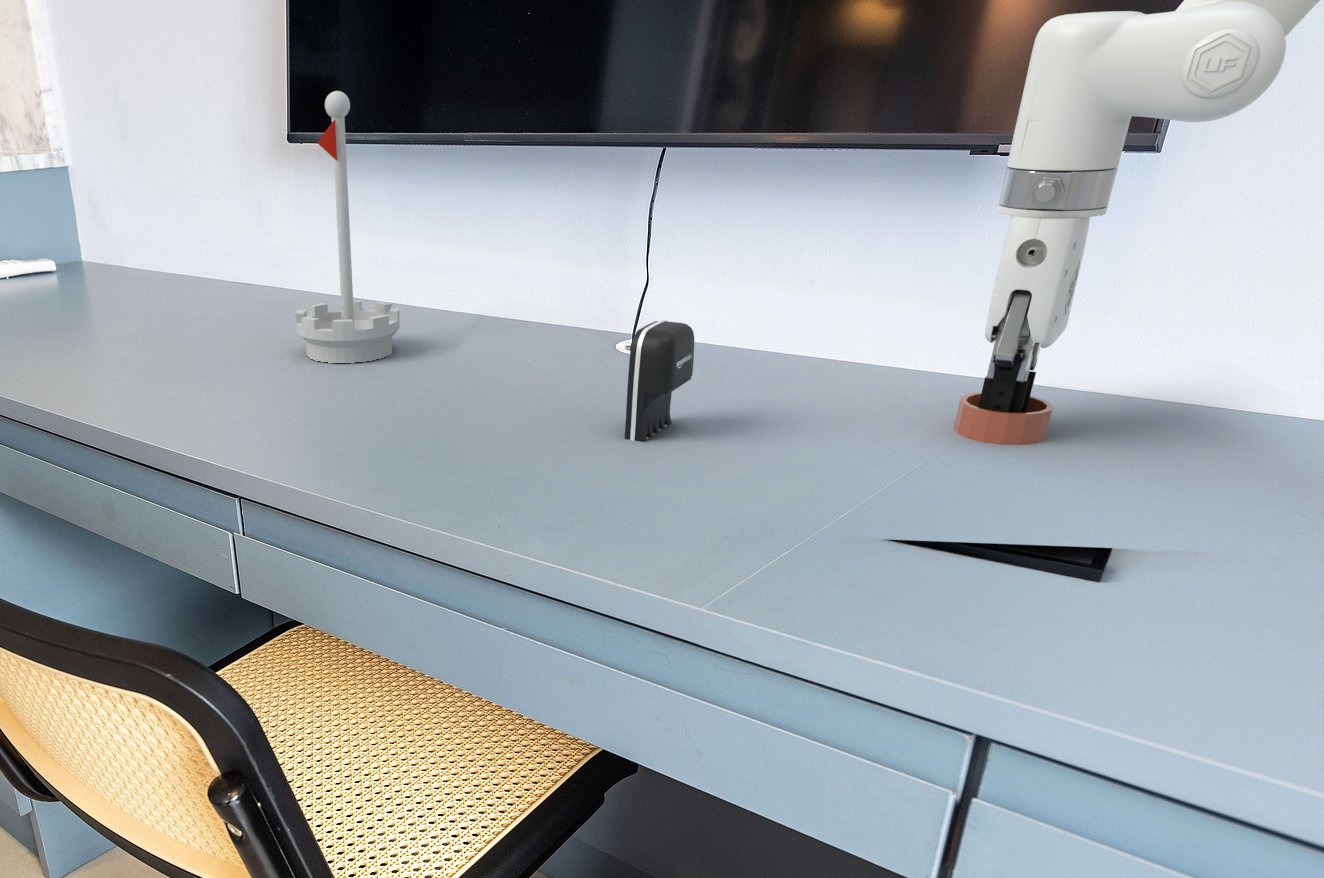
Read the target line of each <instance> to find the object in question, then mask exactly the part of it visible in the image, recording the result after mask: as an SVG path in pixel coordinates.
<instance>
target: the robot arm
mask: <svg viewBox="0 0 1324 878" xmlns="http://www.w3.org/2000/svg"><path fill="white" fill-rule="evenodd" d="M1320 1H1321V0H1183V1H1182V2H1181V3H1180V4H1179V6H1178V7H1177V8H1176V9H1175V10H1173V11H1166V12H1157V13H1156V12H1155V13H1148V14H1146V13H1145V12H1144V13H1143V12H1142V11H1135V10H1134V11H1133V10H1121V11H1119V10H1118V11H1117V10H1114V11H1113V10H1112V11H1089V12H1080V13H1078V12H1077V13H1067V14H1066V13H1065V14H1062V15H1057V16H1055V17H1052V18H1050V19H1049V20H1047V21H1046V22H1045V23H1044V24H1043V25H1042V26H1041V27H1040V28H1039V31H1038V32H1037V34H1036V36H1035V39H1034V43H1033V46H1032V50H1031V54H1030V59H1029V62H1028V63H1029V64H1028V68H1027V72H1026V77H1025V82H1024V87H1023V92H1022V96H1021V100H1020V104H1019V109H1018V114H1017V118H1016V123H1015V128H1014V132H1013V136H1012V141H1011V145H1010V150H1009V154H1008V159H1007V163H1006V169H1005V173H1004V177H1003V181H1002V186H1001V189H1000V195H999V200H998V204H997V209H996V212H997V213H999V214H1001V215H1007V216H1010V219H1009V224H1008V227H1007V231H1006V235H1005V238H1004V239H1005V240H1004V241H1003V247H1002V251H1001V255H1000V260H999V263H998V268H997V272H996V276H995V281H994V285H993V288H992V289H993V290H992V295H991V299H990V304H989V307H988V308H989V309H988V313H987V320H986V324H985V331H984V338H985V339H986V340H987V341H988V342H989V343H990V344H993V343H994V345H993V349H992V353H991V357H990V361H989V366H988V369H987V373H986V376H985V377H984V380H983V385H982V389H981V392H982V393H981V397H980V401H979V406H978V408H982V409H987V410H992V411H999V412H1008V413H1026V410H1027V407H1028V403H1029V399H1030V396H1032V395H1031V394H1032V390H1033V386H1034V383H1035V379H1036V375H1037V371H1035V369H1036V366H1037V363H1038V359H1039V354H1040V351H1041V349H1047V348H1048V347H1051V346H1052V345H1053V344H1054V343H1055V342H1056V341H1058V339H1059V338H1060V336H1061V335H1062V334H1063V332H1065V330H1066V328H1067V327H1068V322H1069V318H1070V314H1071V309H1072V305H1073V300H1074V295H1075V290H1076V287H1077V284H1078V283H1077V282H1078V278H1079V275H1080V272H1081V271H1080V270H1081V266H1082V261H1083V257H1084V252H1085V250H1086V244H1087V240H1088V233H1089V228H1090V221H1091V218H1095V217H1098V216H1099V217H1100V216H1105V215H1106V214H1107V211H1108V207H1109V203H1110V200H1111V196H1112V192H1113V188H1114V185H1115V181H1116V177H1117V174H1118V168H1119V165H1120V161H1121V158H1122V153H1123V150H1124V147H1125V146H1124V145H1125V142H1126V138H1127V135H1128V130H1129V127H1130V123H1131V120H1132V117H1139V118H1140V117H1141V118H1152V119H1160V120H1168V121H1176V122H1182V123H1183V122H1185V123H1206V122H1211V121H1215V120H1216V121H1217V120H1220V119H1223V118H1226V117H1230V116H1231V115H1233V114H1236V113H1238V112H1240V111H1241V110H1244V109H1245V108H1247V107H1249V106H1250V105H1251V104H1252V103H1254V102H1255V101H1256V100H1257V99H1259V98H1261V96H1263V94H1264V93H1265V92H1266V91H1267V90H1268V89H1269V88H1270V86H1272V84H1273V83H1274V81H1275V80H1276V78H1277V76H1278V74H1279V73H1280V70H1281V69H1282V67H1283V64H1284V60H1285V56H1286V49H1287V39H1286V37H1287V36H1288V35H1289V34H1290V33H1291V32H1292V31H1293V30H1294V29H1295V28H1296V26H1297V25H1298V24H1299V23H1300V22H1302V20H1303V19H1304V18H1305V17H1306V16H1307V15H1308V14H1309V13H1310V12H1311V10H1312V9H1313V8H1315V7H1316V5H1317V4H1318V3H1319V2H1320ZM1020 353H1023V355H1022V358H1021V354H1020ZM1032 354H1033V358H1032V362H1031V366H1030V370H1029V375H1028V379H1027V381H1025V378H1026V375H1027V371H1028V367H1029V363H1030V359H1031V355H1032Z"/></svg>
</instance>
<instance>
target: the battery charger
mask: <svg viewBox="0 0 1324 878" xmlns="http://www.w3.org/2000/svg"><path fill="white" fill-rule="evenodd" d="M694 358H695V333H694V330H693V328H692V327H691V326H690V325H689V324H687V323H685V322H677V321H669V320H667V319H666V320H665V319H660V320H655V321H652V322H651V323H648V324H646V325H645V326H642V327H640V328H639V329H638V330H637V331H636V332H635V334H634V335H633V337H632V340H631V346H630V350H629V361H628V362H629V363H628V374H627V389H626V390H627V391H626V405H625V406H626V408H625V425H624V426H625V427H624V440H627V441H632V442H641V443H646V442H648V439H649V438H653V437H654V436H655V434H660V432H661V430H665V429H667V427H666V426H670V425H671V424H672V418H671V404H672V403H671V401H672V393H673V392H674V391H676V390H677V389H679V388H680V387H681V386H683V385H684V384H686V383H687V382H689V381H690V380H691V379H692V377H693V374H694V372H693V371H694Z"/></svg>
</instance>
